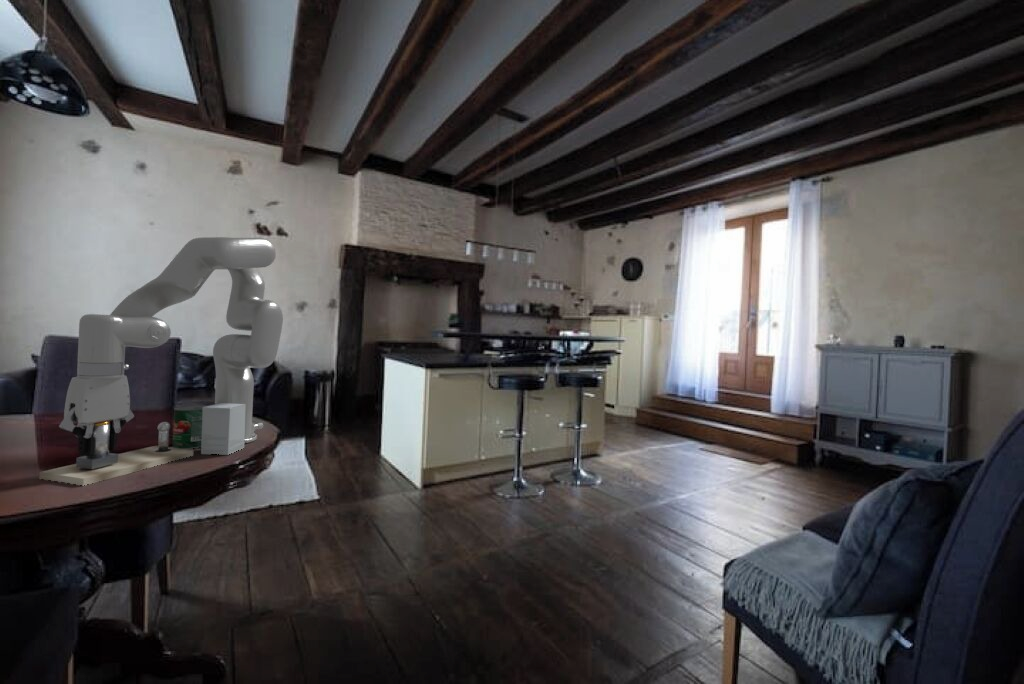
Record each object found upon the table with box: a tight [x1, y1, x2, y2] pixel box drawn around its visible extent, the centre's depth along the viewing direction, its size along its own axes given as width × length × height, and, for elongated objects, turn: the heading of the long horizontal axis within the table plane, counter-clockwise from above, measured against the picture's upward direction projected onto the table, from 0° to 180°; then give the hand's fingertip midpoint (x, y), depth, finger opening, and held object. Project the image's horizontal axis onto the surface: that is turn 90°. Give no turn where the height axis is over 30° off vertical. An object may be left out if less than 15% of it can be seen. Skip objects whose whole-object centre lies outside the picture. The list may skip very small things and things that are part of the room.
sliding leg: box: [75, 421, 119, 469], centre depth 95 cm, size 5×4×10 cm
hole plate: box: [39, 445, 194, 487], centre depth 100 cm, size 24×12×2 cm, turn 168°
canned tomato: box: [171, 404, 209, 450], centre depth 120 cm, size 8×8×11 cm
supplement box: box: [200, 403, 246, 456], centre depth 116 cm, size 7×7×13 cm
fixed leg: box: [157, 421, 172, 451], centre depth 109 cm, size 3×3×7 cm
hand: (97, 452), depth 95 cm, fingers closed on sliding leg, 3 cm apart
